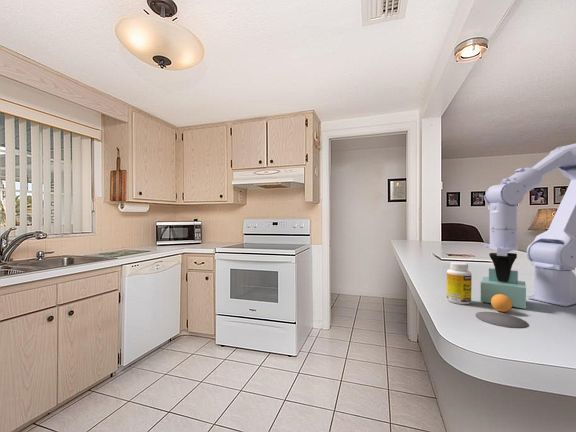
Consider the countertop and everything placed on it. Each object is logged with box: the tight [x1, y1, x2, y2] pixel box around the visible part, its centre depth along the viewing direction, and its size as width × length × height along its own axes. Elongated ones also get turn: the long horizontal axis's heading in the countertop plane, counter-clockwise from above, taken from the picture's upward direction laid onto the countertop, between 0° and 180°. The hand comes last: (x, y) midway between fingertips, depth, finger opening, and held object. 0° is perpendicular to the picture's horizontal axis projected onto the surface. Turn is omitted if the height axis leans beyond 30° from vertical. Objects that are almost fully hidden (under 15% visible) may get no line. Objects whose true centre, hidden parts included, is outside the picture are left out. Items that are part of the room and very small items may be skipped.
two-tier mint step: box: [480, 267, 527, 310], centre depth 73 cm, size 9×9×8 cm
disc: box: [475, 311, 529, 329], centre depth 60 cm, size 9×9×1 cm
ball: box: [490, 294, 512, 313], centre depth 65 cm, size 4×4×4 cm
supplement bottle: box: [446, 261, 473, 305], centre depth 73 cm, size 6×6×10 cm
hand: (503, 280), depth 73 cm, fingers closed on two-tier mint step
